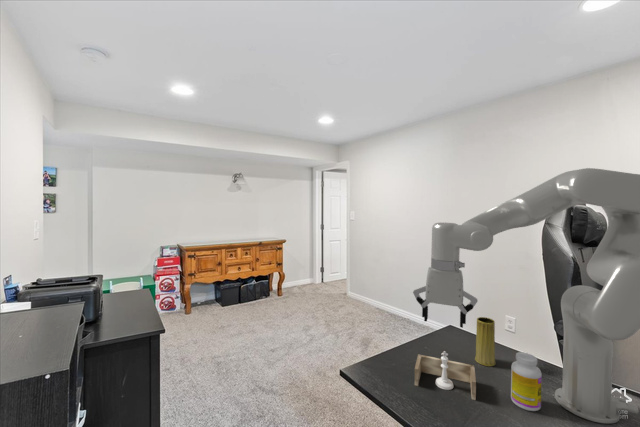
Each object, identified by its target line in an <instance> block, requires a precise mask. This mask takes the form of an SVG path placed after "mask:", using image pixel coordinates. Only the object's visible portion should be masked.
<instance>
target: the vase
mask: <svg viewBox="0 0 640 427" xmlns="http://www.w3.org/2000/svg"><path fill="white" fill-rule="evenodd" d="M495 321H496V320H494V319H493V318H490V317H485V316H483V317H482V316H480V317H477V318H476V332H475V333H476V335H475V336H476V337H475V357H474V361H476V363H478V364H480V365H482V366H485V367H493V366H495V365H497V364H496V363H497V362H496V342H495V341H496V340H495V339H496V338H495V334H496V333H495V332H496V330H495V328H496V326H495V325H496V324H495V323H496V322H495Z"/></svg>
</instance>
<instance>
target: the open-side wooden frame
mask: <svg viewBox="0 0 640 427" xmlns="http://www.w3.org/2000/svg"><path fill="white" fill-rule="evenodd" d="M441 364H443V363H442V360H441V358H439V357H434V356H430V355H429V356H427V355H423V354H420V353H419V354H417V357H416V361H415V366H414V386H416V387H419V383H420V378H421V374H422V373H425V374H429V375H433V376H438V377H442V370H443V368H442V367H441ZM447 365H448V368H446V371H447V378H448V379H450V380H455V381H461V382H464V383H470V394H471V400H472V401H473V400H474V401H476V397H477V381H476V380H477V378H476V371H475V365H473V364H469V363H464V362H459V361H453V360H449V359H448V362H447Z"/></svg>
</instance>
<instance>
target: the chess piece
mask: <svg viewBox="0 0 640 427" xmlns="http://www.w3.org/2000/svg"><path fill="white" fill-rule="evenodd" d="M447 356H449V353H447V352H446V351H445V350H444V351H443V352H442V353H441V357H440V359H441V360H442V363H443V364H441V367H442V368H443V370H442V376H439V377H437V378H436V379H435V385H436V386H437V387H438V388H440V389H442V390H445V391H449V390H452V389H453V388H454V383H453V381H452V379H450V378H447V371H446V368H448V365H447V362H448V360H449V358H448V357H447Z"/></svg>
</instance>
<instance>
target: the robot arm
mask: <svg viewBox="0 0 640 427" xmlns="http://www.w3.org/2000/svg"><path fill="white" fill-rule="evenodd" d="M584 204H585V205H592V206H597V207H601V208H602V210H604V213H605V214H606V217H607V224H608V225H607V228H606V231H605V233H604V235H603V236H602V239H601V241H600V242H599V244H598V245H597V247H596V249H595V250H594V253H593V254H592V256H591V257H590V259H589V261H588V262H587V265H586V274H587V275H588V277H589V278H590V279H591V280H592V281H593V282H595V283H597V284H599V285H600V286H603V287H602V289H601V290H600V289H598V288H596V287H593V286H589V285H582V284H581V285H574V286H570V287H569V288H567V289H566V290H565V291H564V292H563V294H562V296H561V299H560V308H561V309H560V310H561V316H562V323H563V347H562V348H563V349H562V350H563V352H562V385H561V386H562V387H559V388H557V389H556V390H555V391H554V398H555V400H556V402H557V403H558V404H559V405H561V407H563V409H564V410H567V411H568V412H570V413H572V414H573V415H575V416H577V417H580V418H582V419H585V420H588V421H592V422H595V423H597V424H598V423H599V424H609V425H610V424H616V423H618V422H619V421H620V419H621V414H620V412H622V411H625V412H628V413H633V414H639V408H638V405H637V404H634V403H630V402H627V401H626V399H625V397H624V398H623V397H620V396H613V394H612V393H613V392H612V390H613V389H612V386H613V385H612V384H613V358H614V357H613V355H614V342H613V341H623V340H627V339H629V338H631V337H633V336H634V335H635V334H637V332H638V331H639V330H640V174H638V173H631V172H626V171H625V172H624V171H617V170H609V169H604V168H603V169H602V168H590V167H589V168H588V167H587V168H580V169H574V170H569V171H565V172H563V173H559V174H557V175H556V176H554V177H552V178H550V179H548V180H546V181H544V182H542V183H540V184H538V185H537V186H535V187H533V188H531V189H529V190H527V191H525V192H523V193H521V194H519V195H517V196H515V197H512V198H511V199H509V200H506V201H505V202H503V203H501V204H499V205H496V206H494V207H492V208H490V209H488V210H485V211H483V212H482V213H479V214H478V215H476V216H473V217H471V218H470V219H468V220H466V221H464V222H463V223H462V224H457V223H454V222H436V223H433V225H432V227H431V255H430V256H431V258H430V259H431V260H430V266H429V267H428V270H427V275H426V281H425V285H424V286H422V287H418V288H416V289H413V292H412V293H413V295H414V298H415V300H416V302H417V303H418V304H419V305H420V306H421V308H422V309H421V310H422V312H421V314H422V315H421V317H422V318H423V321H424V322H427V321H428V318H429V306H428V305H429V304H430V303H431V304H435V305H442V306H450V307H451V306H452V307H457V308H458V309H459V310H460V311H459V313H460V314H459V328H464V325H467V324H466V323H467V322H466V321H467V317H466V316H467V314H468V313H469V312H470V311H472V310H473V309H474V307H475V306H476V305H477V303H478V298H477V297H475V296H473V295H472V294H470V293H468V292H467V291H465V290H464V279H463V278H464V276H463V271H462V270H461V269H462V268H465V266H466V265H465V264H466V263H465V262H462V261H460V252H461V251H460V250H461V249H462V250H468V251H473V252H481V251H484V250H487V249H488V248H490V247H491V246H492V245H493V243H494V236H495V235H498V234H500V233H503V232H505V231H510V230H513V229H517V228H518V229H519V228H525V227H529V226H533V225H537V224H539V223H541V222H543V221H544V220H547V219H549V218H551V217H553V216H554V215H557V214H559V213H561V212H563V211H565V210H567V209H570V208H571V207H574V206H576V205H584ZM421 293H422V294H423V293H425V299H423V298H422V297H421V295H420V294H421ZM465 298H466V299H467V300H469V303H467V304H466V305H465V304H464V299H465Z"/></svg>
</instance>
